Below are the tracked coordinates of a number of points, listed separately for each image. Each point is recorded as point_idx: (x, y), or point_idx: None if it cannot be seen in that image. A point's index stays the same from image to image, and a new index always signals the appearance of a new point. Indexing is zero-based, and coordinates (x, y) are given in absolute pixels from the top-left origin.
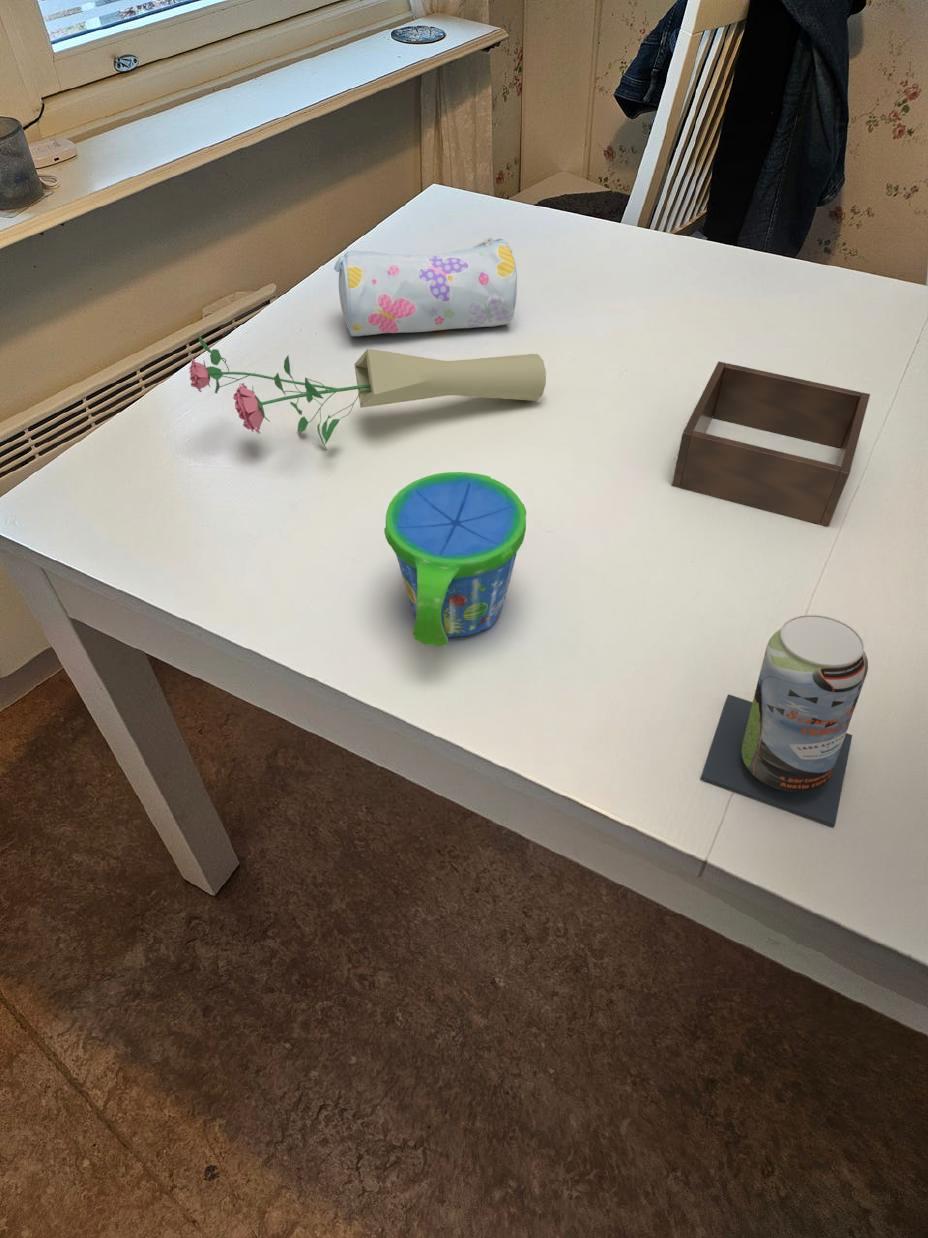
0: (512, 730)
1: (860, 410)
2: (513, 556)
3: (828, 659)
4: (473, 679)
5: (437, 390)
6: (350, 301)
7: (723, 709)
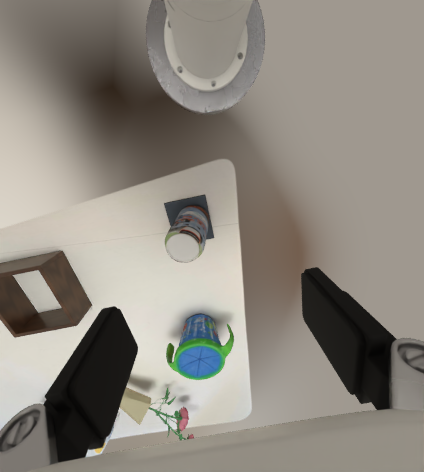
0: (231, 288)
1: None
2: (195, 336)
3: (193, 243)
4: (221, 306)
5: (125, 390)
6: (109, 436)
7: None
